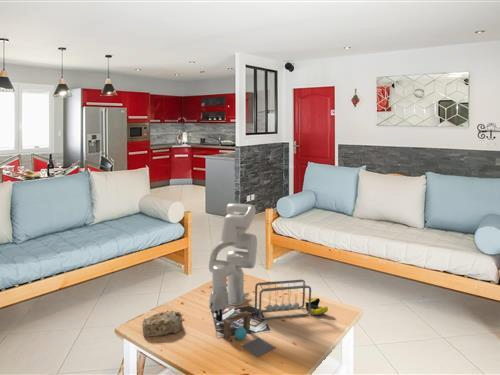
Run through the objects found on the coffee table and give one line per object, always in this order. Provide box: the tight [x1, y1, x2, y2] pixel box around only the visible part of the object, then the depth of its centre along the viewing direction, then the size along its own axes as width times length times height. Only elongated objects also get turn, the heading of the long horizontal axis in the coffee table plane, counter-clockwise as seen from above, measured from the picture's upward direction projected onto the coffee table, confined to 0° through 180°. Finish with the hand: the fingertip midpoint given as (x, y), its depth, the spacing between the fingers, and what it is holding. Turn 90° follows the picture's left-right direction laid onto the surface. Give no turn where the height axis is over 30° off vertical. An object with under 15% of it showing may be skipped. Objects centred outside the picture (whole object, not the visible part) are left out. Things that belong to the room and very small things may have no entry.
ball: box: [234, 326, 248, 341], centre depth 205 cm, size 6×6×6 cm
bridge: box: [223, 310, 251, 341], centre depth 210 cm, size 3×15×10 cm, turn 132°
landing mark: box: [240, 337, 277, 358], centre depth 199 cm, size 12×12×1 cm
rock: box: [142, 310, 184, 338], centre depth 213 cm, size 21×14×10 cm
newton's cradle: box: [254, 279, 312, 320], centre depth 232 cm, size 30×10×18 cm, turn 104°
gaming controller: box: [304, 297, 329, 316], centre depth 237 cm, size 15×6×10 cm
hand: (219, 320), depth 221 cm, fingers closed
